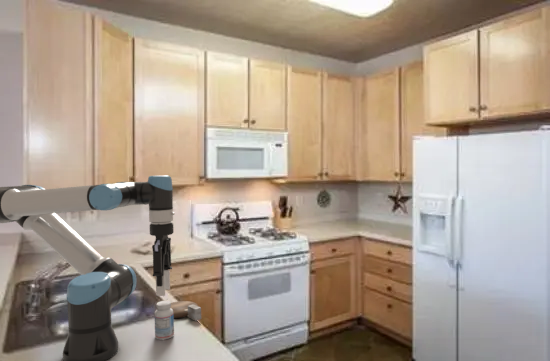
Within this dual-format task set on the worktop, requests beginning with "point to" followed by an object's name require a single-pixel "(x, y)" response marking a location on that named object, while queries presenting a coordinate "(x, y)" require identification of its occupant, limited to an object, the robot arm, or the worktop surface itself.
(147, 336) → the worktop surface
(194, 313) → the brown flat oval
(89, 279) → the robot arm
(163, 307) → the pill bottle
